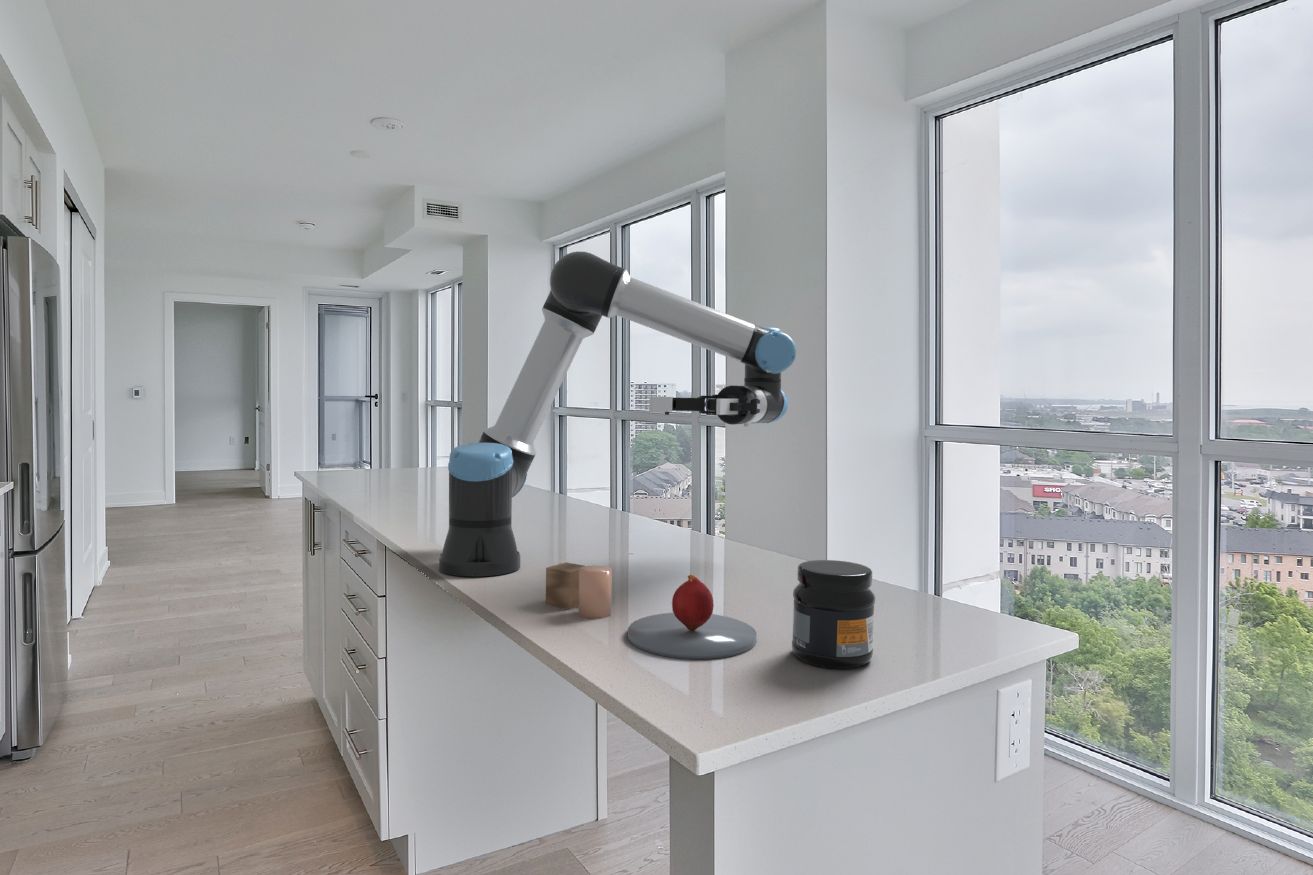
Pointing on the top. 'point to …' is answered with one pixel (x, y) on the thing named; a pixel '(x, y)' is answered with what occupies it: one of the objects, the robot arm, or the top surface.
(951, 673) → the top surface
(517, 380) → the robot arm
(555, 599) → the walnut block
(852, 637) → the supplement container
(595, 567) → the cylinder
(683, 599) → the red pomegranate
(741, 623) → the slate plate
